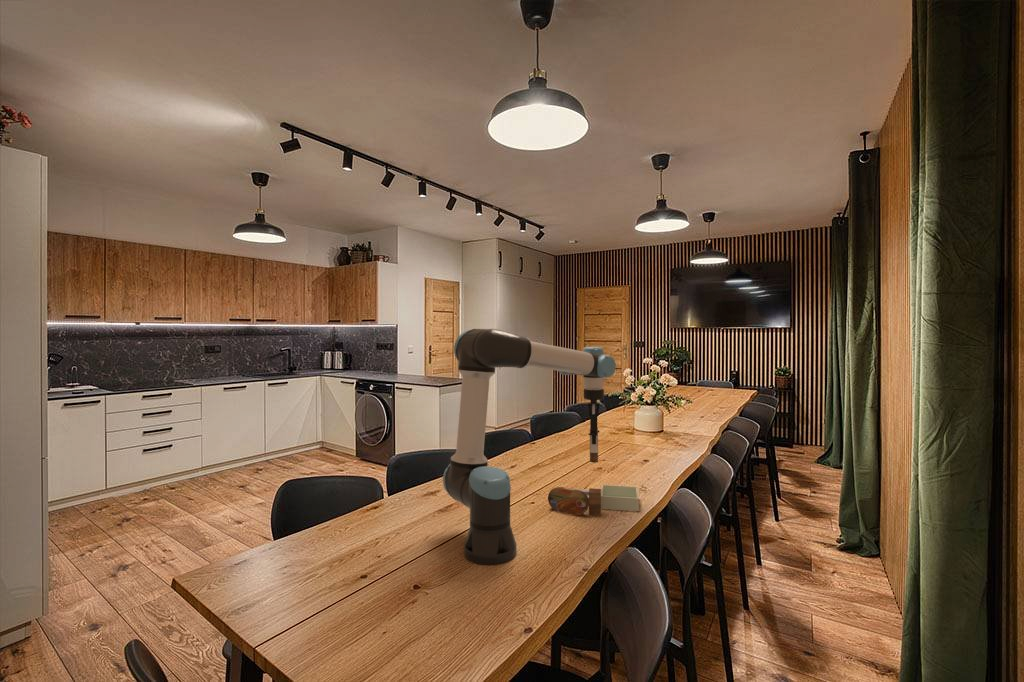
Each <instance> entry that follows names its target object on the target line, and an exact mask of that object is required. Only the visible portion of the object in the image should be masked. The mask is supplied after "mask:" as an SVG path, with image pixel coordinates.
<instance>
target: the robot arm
mask: <svg viewBox="0 0 1024 682" xmlns="http://www.w3.org/2000/svg"><path fill="white" fill-rule="evenodd" d="M453 354H454V356H455V359H456V360H457V361H458V364H457V365H458V369H457V371H458V372H459V374H460V375H461V376H462V377H461V388H460V389H461V391H460V402H459V413H458V427H457V436H456V437H457V438H456V448H455V449H456V451H455V453H453V455H451V456H450V463H449V464H448V466H447V467H446V468H445V470H444V472H443V475H442V483H443V487H444V490H445V492H446V493H447V494H448V495H449V496H450V497H451V498H452V500H454V501H457V502H459V503H461V504H462V505H464V506H466V507H467V508H469V528H468V531H467V534H466V538H465V541H464V544H463V555H464V557H465V558H466V559H467V560H468V561H469V562H472V563H474V564H479V565H486V566H487V565H499V564H503V563H507V562H510V561H511V560H512V559H514V558H515V557H516V556H517V542H516V541H517V540H516V538H515V536H514V533H513V530H512V526H511V490H512V487H511V479H510V476H509V474H508V473H507V471H505V470H504V469H502V468H500V467H494V466H489V465H488V464H489V463H488V462H489V461H488V458H487V457H486V455H484V450H485V439H486V438H485V437H486V426H487V417H488V416H487V413H488V404H489V403H488V402H489V391H490V390H489V389H490V379H491V377H493V376H494V375H495V374H496V368H517V369H524V368H525V367H532V368H538V369H544V370H545V369H546V370H552V371H557V372H558V373H559V374H561V375H563V376H565V375H566V376H570V375H574V376H575V375H577V376H582V380H583V381H582V382H583V383H582V387H583V388H584V389H583V399H584V400H589V401H590V403H588V416H589V417H590V418H589V419H590V422H589V423H590V424H589V425H590V426H589V433H587V434H588V436H589V454H590V453H598V454H599V433H600V430H598V432H597V429H599V428H598V417H599V414H600V413H599V410H600V403H598V401H601V400H604V399H605V390H604V387H605V383H606V382H607V381H606V379H604V378H610V377H612V376H613V375H614V374H615V372H616V368H617V367H616V366H617V363H616V360H615V359H614V358H613V357H612V356H611V355H609V354H605V353H604V349H603V347H601V346H585V347H583V349H582V350H577V349H572V348H567V347H563V346H557V345H551V344H546V343H541V342H535V341H531V340H530V338H528V337H527V336H523V335H518V334H515V333H512V332H508V331H504V330H501V329H497V328H472V329H468V330H464V331H463V332H462V333H460V334H459V336H457V338H456V340H455V342H454V346H453Z"/></svg>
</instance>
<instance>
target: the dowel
mask: <svg viewBox="0 0 1024 682" xmlns="http://www.w3.org/2000/svg"><path fill="white" fill-rule="evenodd" d="M598 429H599V428H598ZM598 429H597V432H598ZM589 462H590V463H592V464H593V463H598V462H599V452H598V453H590V452H589Z"/></svg>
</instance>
